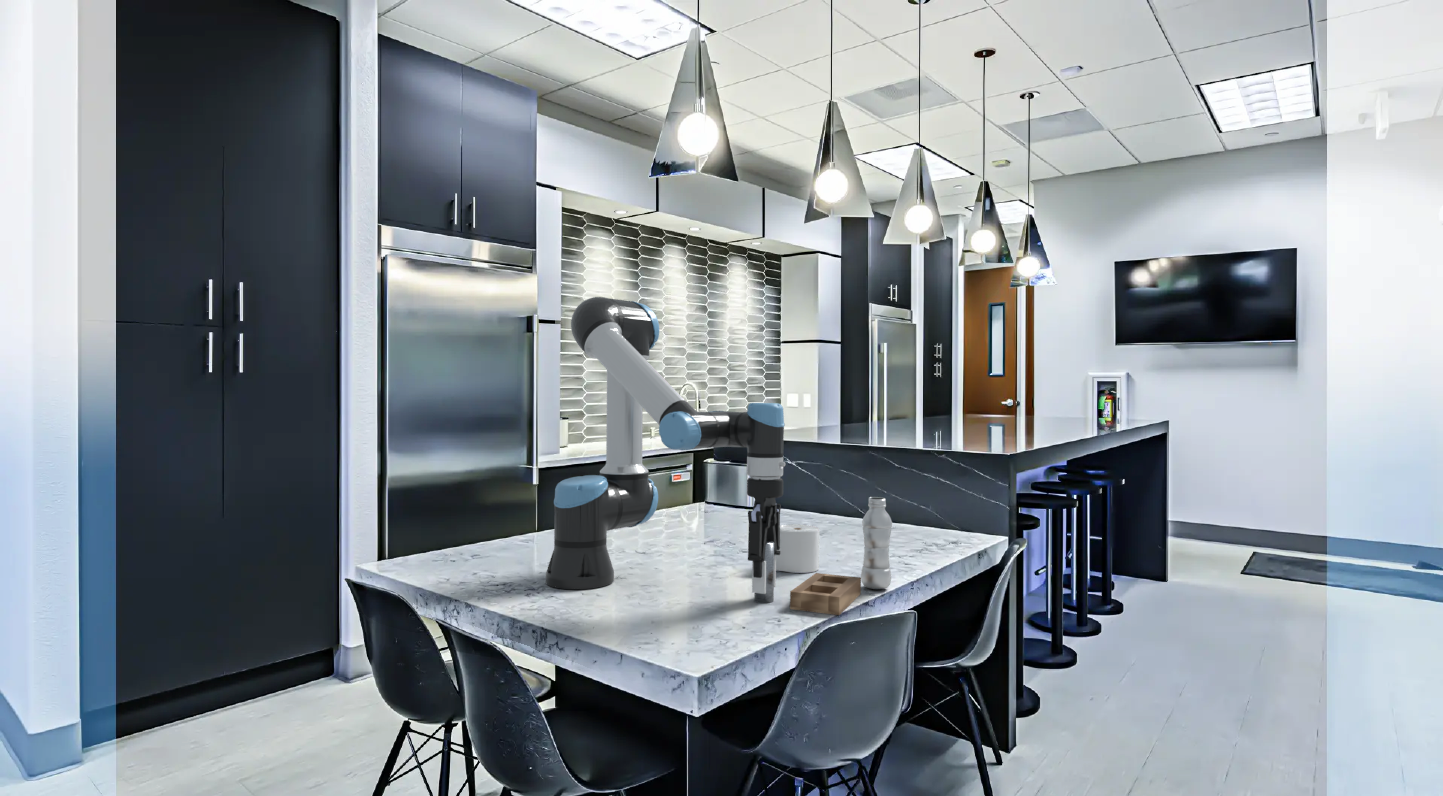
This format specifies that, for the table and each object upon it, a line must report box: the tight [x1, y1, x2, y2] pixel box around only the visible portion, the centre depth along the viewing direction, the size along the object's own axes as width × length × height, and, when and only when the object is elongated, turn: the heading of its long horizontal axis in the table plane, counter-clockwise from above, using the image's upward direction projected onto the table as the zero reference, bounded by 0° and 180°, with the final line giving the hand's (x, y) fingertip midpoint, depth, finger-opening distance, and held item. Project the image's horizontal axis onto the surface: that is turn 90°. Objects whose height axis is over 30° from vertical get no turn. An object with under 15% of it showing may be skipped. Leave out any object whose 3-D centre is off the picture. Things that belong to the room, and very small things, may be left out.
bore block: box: [789, 572, 862, 616], centre depth 161 cm, size 10×18×4 cm, turn 157°
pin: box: [753, 541, 775, 604], centre depth 161 cm, size 4×4×12 cm
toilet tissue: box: [775, 523, 820, 574], centre depth 191 cm, size 11×12×10 cm
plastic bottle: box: [860, 496, 893, 590], centre depth 172 cm, size 6×7×20 cm
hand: (764, 589), depth 161 cm, fingers open, 5 cm apart
